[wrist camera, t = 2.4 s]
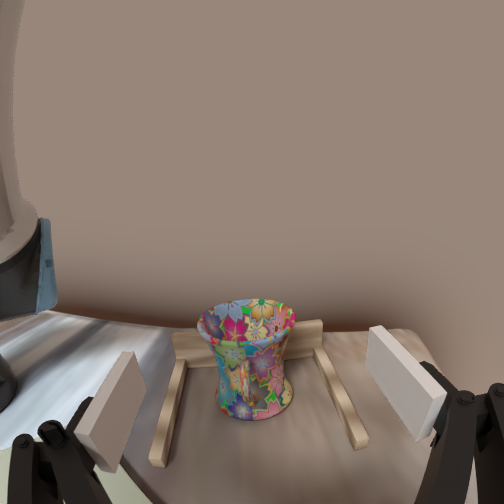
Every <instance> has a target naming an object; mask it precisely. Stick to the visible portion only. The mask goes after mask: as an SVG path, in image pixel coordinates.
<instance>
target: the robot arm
mask: <svg viewBox="0 0 504 504" xmlns="http://www.w3.org/2000/svg"><path fill="white" fill-rule="evenodd" d="M24 3H25V0H0V322H4V321H9V320H13V319H17V318H22V317H26V316H31V315H37V314H38V313H39V312H42V311H45V310H48V309H51V308H53V307H54V306H55V305H56V303H57V301H58V292H57V285H56V278H55V270H54V262H53V251H52V240H51V224H50V220H48V219H46V218H45V219H43V218H39V219H38V217H37V213H36V210H35V208H34V206H33V205H32V204H31V203H30V202H29V201H27V200H25V199H23V198H21V193H20V186H19V180H18V173H17V166H16V157H15V147H14V135H13V76H14V62H15V53H16V45H17V39H18V33H19V27H20V22H21V17H22V12H23V8H24ZM365 367H366V369H367V370H368V372H369V373H370V375H371V376H372V378H373V379H374V380H375V382H376V383H377V385H378V386H379V388H380V389H381V391H382V392H383V394H384V395H385V396H386V398H387V399H388V401H389V402H390V404H391V405H392V407H393V408H394V410H395V411H396V413H397V414H398V416H399V417H400V419H401V420H402V422H403V423H404V425H405V426H406V428H407V429H408V431H409V432H410V434H411V435H412V437H413V438H414V440H415V441H418V440H421V439H423V438H425V437H427V436H429V435H430V433H431V431H432V428H434V429H435V430H436V432H437V433H436V435H435V437H434V439H433V441H432V443H431V445H430V447H432V450H431V453H430V457H429V461H428V464H427V468H426V471H425V474H424V477H423V480H422V483H421V486H420V489H419V492H418V495H417V497H416V500H415V503H414V504H464V503H465V499H466V495H467V490H468V486H469V480H470V475H471V469H472V462H473V455H474V460H475V469H476V478H477V491H478V504H504V384H502V383H495V384H492V385H491V386H490V388H489V390H488V393H486V394H482V395H476V396H475V395H474V394H473V393H471V392H470V391H466V390H462V391H458V390H457V389H456V388H455V387H454V386H453V385H452V384H451V383H450V382H449V381H448V380H447V379H446V378H445V377H444V376H443V375H442V374H441V373H440V372H438V370H437V369H436V368H435V367H434V366H433V365H432V364H430V363H428V362H425V361H423V362H420V363H418V362H417V361H416V360H415V359H414V358H413V357H412V355H411V354H410V353H409V352H408V351H407V350H406V349H405V348H404V347H403V346H402V345H401V344H400V343H399V342H398V341H397V340H396V339H395V338H394V337H393V336H392V335H391V334H390V333H389V332H388V331H387V330H386V329H384V328H383V327H382V326H376V327H371V328H370V329H369V339H368V348H367V356H366V364H365ZM16 387H17V381H16V378H15V376H14V374H13V372H12V369H11V367H10V366H9V364H8V363H7V362H6V361H5V359H4V358H3V357H2V356H1V354H0V411H1V410H3V409H4V408H5V407H6V406H7V404H8V403H9V402H10V401H11V399H12V398H13V396H14V394H15V391H16ZM146 391H147V388H146V385H145V383H144V380H143V377H142V374H141V371H140V368H139V365H138V362H137V359H136V356H135V353H134V352H122V353H121V355H120V356H119V358H118V359H117V361H116V363H115V364H114V366H113V367H112V369H111V370H110V372H109V374H108V375H107V377H106V378H105V380H104V382H103V383H102V385H101V387H100V388H99V390H98V392H97V393H96V395H95V396H94V397H88V398H86V399H85V400H84V401H83V402H82V403H81V404H80V406H79V407H78V410H77V411H76V412H75V414H74V415H73V417H72V419H71V420H70V422H69V424H68V425H67V427H66V429H64V428H63V426H62V425H61V423H60V422H58V421H56V420H49V421H46V422H44V423H42V424H41V425H40V426H39V428H38V435H39V436H40V438H41V439H42V441H43V442H35V440H34V439H33V437H32V436H31V435H29V434H21V435H19V436H17V437H16V438H15V439H14V441H13V444H12V450H11V458H10V466H9V476H8V490H7V504H64V502H65V504H113V503H112V502H111V500H110V498H109V496H108V495H107V493H106V491H105V489H104V487H103V485H102V484H101V482H100V480H99V478H98V476H97V474H96V472H95V471H94V470H93V469H94V467H95V464H96V465H97V466H98V467H99V469H100V470H101V471H104V472H109V473H114V474H116V471H117V468H118V465H119V462H120V460H121V457H122V454H123V451H124V448H125V446H126V443H127V440H128V438H129V435H130V432H131V430H132V427H133V424H134V422H135V419H136V416H137V414H138V411H139V409H140V406H141V403H142V401H143V398H144V396H145V393H146ZM432 445H433V446H432ZM63 499H64V500H63Z"/></svg>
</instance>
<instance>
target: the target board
mask: <svg viewBox="0 0 504 504" xmlns="http://www.w3.org/2000/svg"><path fill="white" fill-rule="evenodd" d="M64 429H66V427H64ZM34 440H35V442H43V441H42V439H41V438H40V437H38V438H36V439H34ZM11 450H12V447H10V448H7V449H3V450H0V504H7V490H8V476H9V466H10V458H11ZM93 470H94V471H95V472H96V474H97V476H98V478H99V480H100V482H101V484H102V485H103V487H104V489H105V491H106V493H107V495H108V496H109V498H110V500H111V502H112V503H113V504H152V503H151V502H150V500H149V499H148V498H147V497H146V496H145V495H144V494H143V493H142V491H141V490H140V489H139V488H138V487H137V485H136V484H135V483H134V482H133V481H132V479H131V478H130V477H129V476H128V474H127V473H126V472H125V470H124V469H123V468H122V467H121V465H120V464H119V465H118V468H117V471H116V474H114V473H109V472H104V471H101V470H100V469H99V467H98V466H97V465H96V464H95V467H94V469H93ZM63 500H64V499H63ZM64 504H65V502H64Z"/></svg>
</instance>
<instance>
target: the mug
mask: <svg viewBox="0 0 504 504" xmlns="http://www.w3.org/2000/svg"><path fill="white" fill-rule="evenodd" d="M295 322H296V315H295V313H294V311H293V310H292V309H291V308H290V307H288V306H287V305H285V304H283V303H280V302H277V301H273V300H267V299H242V300H236V301H230V302H227V303H223V304H220V305H217V306H215V307H213V308H211V309H209V310H207V311H206V312H205V313H203V314H202V315H201V317H200V318H199V320H198V323H197V328H198V331H199V333H200V334H201V336H202V337H203V338H204V340H205V341H206V342H207V344H208V345H209V347H210V349H211V351H212V353H213V355H214V357H215V359H216V362H217V365H218V369H219V386H218V388H217V390H216V396H215V397H216V402H217V404H218V406H219V408H220V409H221V410H222V411H223V412H224V413H226V414H227V415H229V416H231V417H234V418H237V419H241V420H249V421H254V420H262V419H266V418H270V417H272V416H274V415H276V414H278V413H280V412H281V411H282V410H284V409H285V408H286V407H287V406H288V404H289V403H290V401H291V398H292V393H293V392H292V387H291V385H290V383H289V382H288V380H287V379H286V376H285V373H284V353H285V348H286V344H287V341H288V338H289V336H290V333H291V331H292V329H293V327H294V325H295Z"/></svg>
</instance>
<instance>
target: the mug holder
mask: <svg viewBox="0 0 504 504" xmlns="http://www.w3.org/2000/svg"><path fill="white" fill-rule="evenodd" d="M322 327H323V323H322V321H321V320H320V319H317V320H310V321H303V322H295V325H294V327H293V329H292V331H291V333H290V336H289V338H288V341H287V344H286V348H285V353H284V360H290V359H297V358H304V357H311V356H313V357H314V360H315V362H316V364H317V366H318V369H319V371H320V373H321V375H322V378H323V380H324V382H325V384H326V387H327V389H328V391H329V394H330V396H331V398H332V400H333V403H334V405H335V407H336V410H337V412H338V414H339V416H340V419H341V421H342V423H343V426H344V428H345V430H346V433H347V435H348V437H349V440H350V442H351V444H352V447H353V449H354V451H355V450H359V449H362V448H365V447H367V444H368V441H369V436H368V434H367V433H366V431H365V429H364V427H363V425H362V423H361V421H360V419H359V417H358V415H357V413H356V411H355V409H354V407H353V405H352V403H351V401H350V399H349V397H348V395H347V393H346V391H345V389H344V387H343V385H342V383H341V382H340V380H339V378H338V376H337V374H336V372H335V370H334V368H333V366H332V364H331V362H330V360H329V358H328V357H327V355H326V353H325V351H324V349H323V347H322ZM172 342H173V346H174V350H175V354H176V358H177V360H176V363H175V366H174V369H173V373H172V376H171V379H170V383H169V386H168V389H167V393H166V396H165V399H164V403H163V406H162V410H161V413H160V417H159V420H158V424H157V427H156V431H155V435H154V438H153V442H152V446H151V449H150V453H149V457H148V459H149V461H150V462H151V464H152V466H153V467H159V468H166V463H167V458H168V453H169V448H170V443H171V439H172V434H173V429H174V424H175V420H176V415H177V411H178V406H179V402H180V397H181V393H182V389H183V384H184V380H185V376H186V372H187V368H193V367H216V366H218V365H217V362H216V359H215V357H214V355H213V353H212V351H211V349H210V347H209V345H208V344H207V342H206V341H205V340H204V338H203V337H202V336H201V334H200V333H199V331H194V332H173V334H172Z"/></svg>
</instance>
